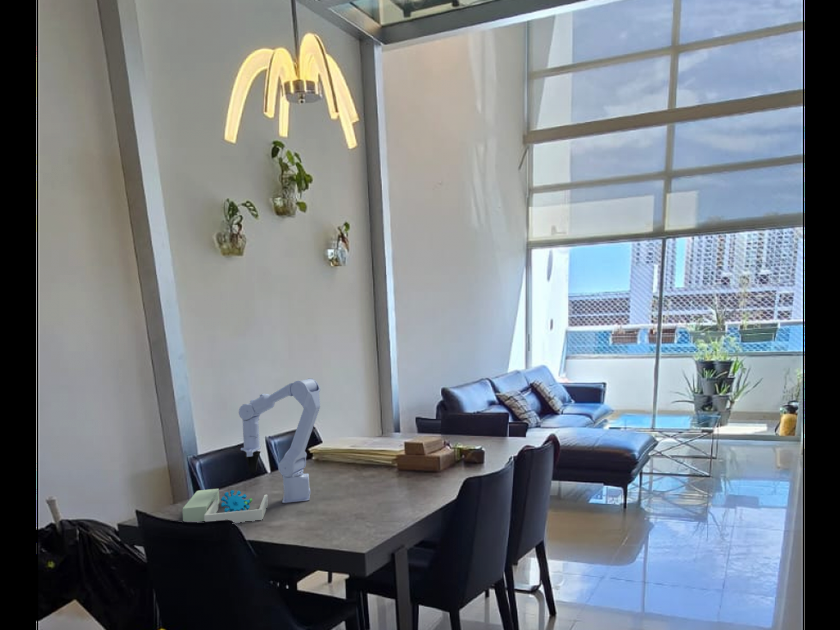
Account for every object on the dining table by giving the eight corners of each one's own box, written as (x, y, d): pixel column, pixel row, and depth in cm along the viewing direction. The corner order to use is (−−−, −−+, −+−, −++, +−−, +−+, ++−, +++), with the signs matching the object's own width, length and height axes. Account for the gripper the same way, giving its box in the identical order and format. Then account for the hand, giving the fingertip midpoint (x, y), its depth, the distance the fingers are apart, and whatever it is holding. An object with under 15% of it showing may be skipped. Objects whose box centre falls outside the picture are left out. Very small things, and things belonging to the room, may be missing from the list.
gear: (226, 515, 194) (218, 490, 200) (219, 526, 197) (212, 500, 203) (257, 511, 201) (249, 487, 207) (250, 522, 204) (243, 497, 210)
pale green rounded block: (220, 502, 216) (219, 488, 216) (208, 521, 194) (207, 506, 194) (198, 504, 215) (197, 490, 215) (183, 523, 193) (182, 508, 193)
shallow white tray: (268, 504, 210) (267, 494, 210) (262, 520, 192) (261, 509, 192) (215, 509, 207) (214, 499, 207) (204, 526, 189) (204, 515, 189)
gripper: (243, 433, 227) (244, 468, 227) (237, 440, 212) (239, 477, 212) (261, 431, 228) (263, 466, 228) (257, 438, 214) (259, 476, 213)
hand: (253, 472), depth 220 cm, fingers closed
